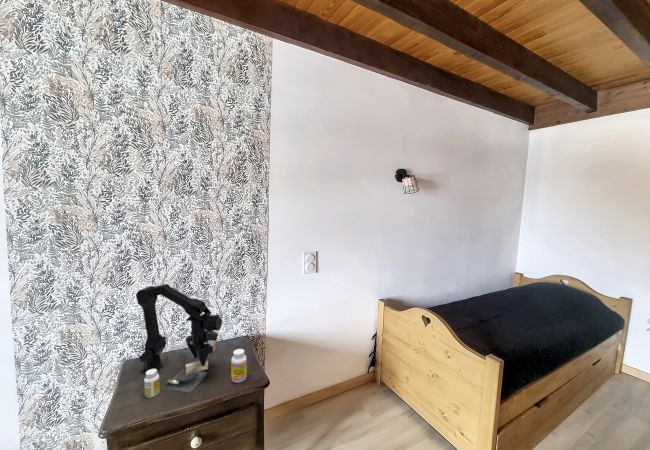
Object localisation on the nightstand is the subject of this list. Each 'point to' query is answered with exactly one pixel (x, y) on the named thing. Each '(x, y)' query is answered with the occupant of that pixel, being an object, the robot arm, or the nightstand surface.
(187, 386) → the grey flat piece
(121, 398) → the nightstand surface
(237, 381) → the supplement bottle
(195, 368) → the knob
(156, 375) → the supplement bottle
